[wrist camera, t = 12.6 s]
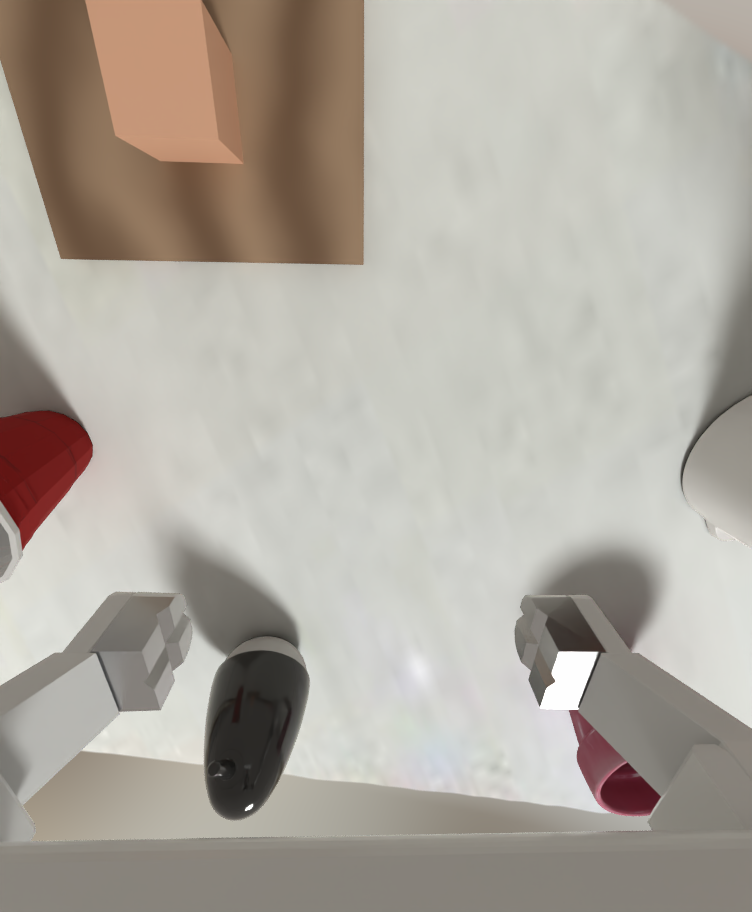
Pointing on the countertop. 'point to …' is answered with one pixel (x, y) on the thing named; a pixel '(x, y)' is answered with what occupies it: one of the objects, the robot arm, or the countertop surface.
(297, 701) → the black glossy tall piece
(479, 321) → the countertop surface
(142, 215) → the walnut board
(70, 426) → the plastic cup
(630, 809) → the plant pot
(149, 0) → the cube
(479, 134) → the countertop surface
